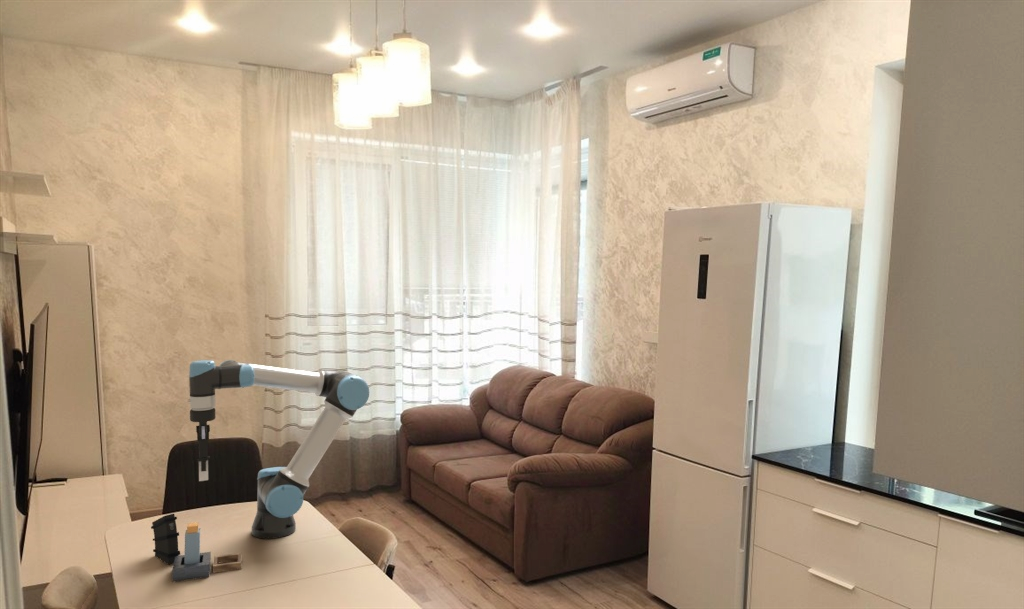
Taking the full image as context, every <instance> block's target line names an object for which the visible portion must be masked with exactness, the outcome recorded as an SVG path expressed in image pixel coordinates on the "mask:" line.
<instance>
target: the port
mask: <svg viewBox="0 0 1024 609" xmlns="http://www.w3.org/2000/svg"><path fill="white" fill-rule="evenodd" d="M211 554H212V553H211V551H205V552H200V563H194V564H187V565H184V560H185V554H182V555H181V554H180V555H178V556H175V560H174V564H172V573H171V574H172V575H171V577H172V578H171V582H172V583H175V582H176V583H177V582H183V581H190V580H197V579H198V580H199V579H206V578H205V577H207V578H209V577H210V573H211V572H210V571H211V558H212V557H211Z"/></svg>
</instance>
